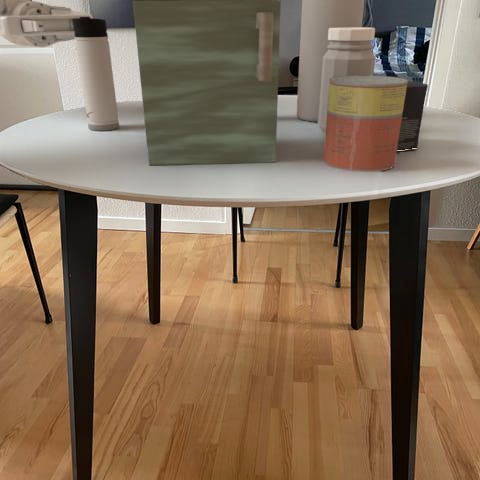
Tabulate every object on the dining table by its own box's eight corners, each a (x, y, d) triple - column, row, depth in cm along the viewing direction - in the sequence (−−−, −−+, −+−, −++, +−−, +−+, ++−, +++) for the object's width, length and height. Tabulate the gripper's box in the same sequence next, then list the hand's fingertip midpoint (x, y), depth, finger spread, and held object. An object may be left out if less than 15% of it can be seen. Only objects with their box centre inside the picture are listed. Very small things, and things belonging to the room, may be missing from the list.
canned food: (378, 153, 85) (389, 74, 78) (407, 170, 75) (422, 83, 69) (314, 155, 83) (320, 76, 77) (334, 174, 74) (343, 85, 67)
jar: (309, 128, 103) (316, 27, 94) (351, 125, 106) (362, 27, 96) (330, 137, 95) (340, 28, 86) (375, 134, 98) (389, 28, 88)
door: (280, 171, 75) (286, -1, 63) (146, 174, 73) (127, 0, 62) (274, 160, 80) (279, 0, 69) (149, 163, 79) (133, 1, 67)
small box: (353, 141, 93) (359, 78, 87) (382, 138, 95) (391, 77, 89) (386, 153, 84) (396, 85, 79) (418, 150, 86) (430, 83, 81)
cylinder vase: (335, 125, 106) (348, -17, 93) (285, 119, 112) (291, -15, 99) (361, 116, 114) (376, -15, 101) (313, 111, 121) (322, -13, 107)
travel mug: (85, 131, 101) (67, 16, 91) (92, 125, 107) (75, 16, 96) (116, 131, 102) (101, 16, 91) (121, 125, 107) (108, 16, 97)
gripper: (-17, 8, 104) (7, 7, 95) (74, 7, 115) (103, 7, 106) (-9, 42, 107) (15, 45, 98) (79, 38, 119) (108, 40, 110)
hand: (62, 25), depth 102 cm, fingers open, 8 cm apart
